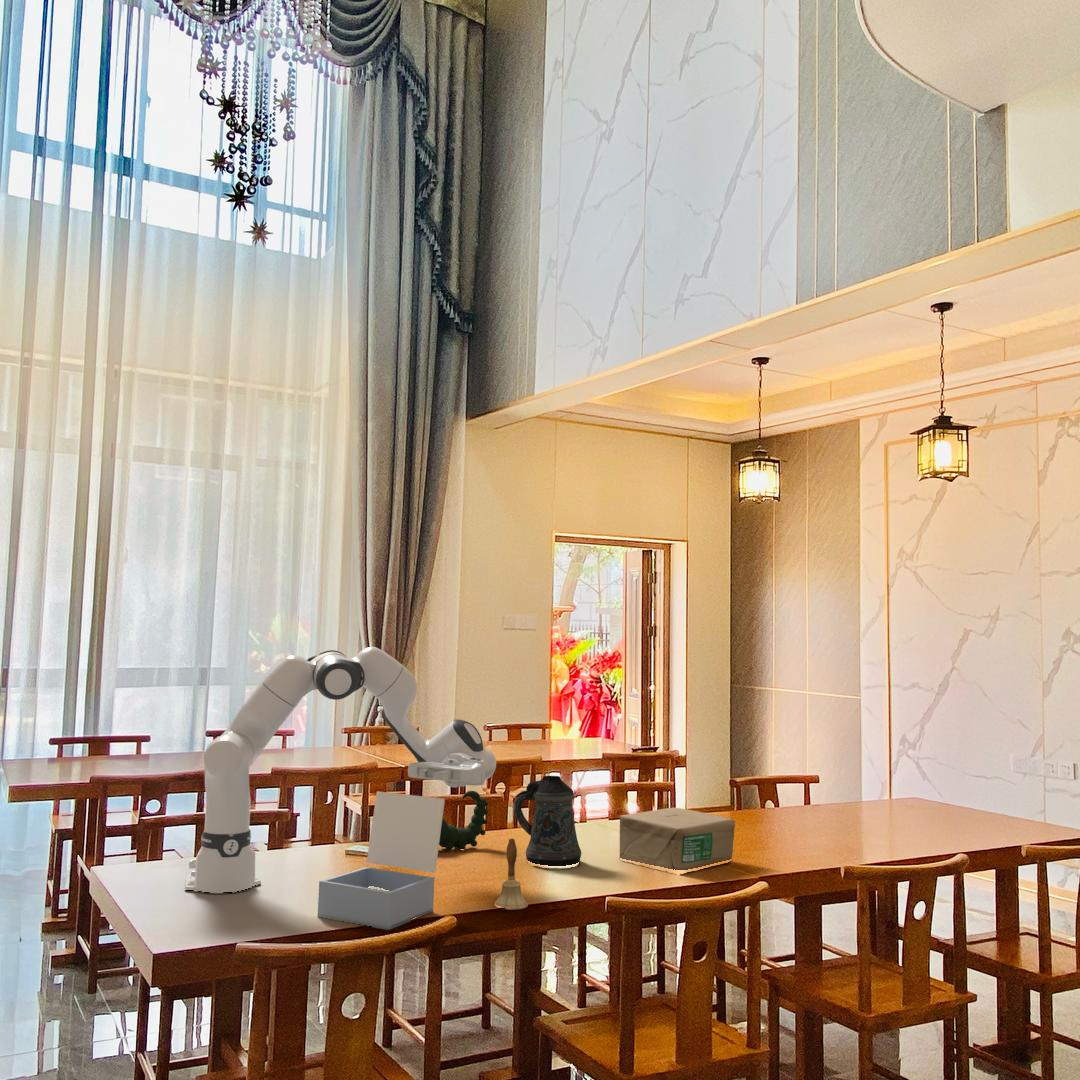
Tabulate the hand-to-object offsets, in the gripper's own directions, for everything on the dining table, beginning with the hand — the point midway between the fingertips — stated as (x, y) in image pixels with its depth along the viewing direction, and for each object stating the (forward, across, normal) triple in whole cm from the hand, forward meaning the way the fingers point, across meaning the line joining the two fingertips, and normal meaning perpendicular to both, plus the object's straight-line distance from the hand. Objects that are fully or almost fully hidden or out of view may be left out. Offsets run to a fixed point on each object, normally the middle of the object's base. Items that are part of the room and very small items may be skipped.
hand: (428, 775), depth 257 cm
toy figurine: (-51, -25, +30) cm, 65 cm away
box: (+20, 0, +30) cm, 36 cm away
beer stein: (-52, +9, +30) cm, 61 cm away
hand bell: (-4, +23, +30) cm, 38 cm away
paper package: (-76, +40, +31) cm, 91 cm away
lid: (+10, 0, +12) cm, 16 cm away
